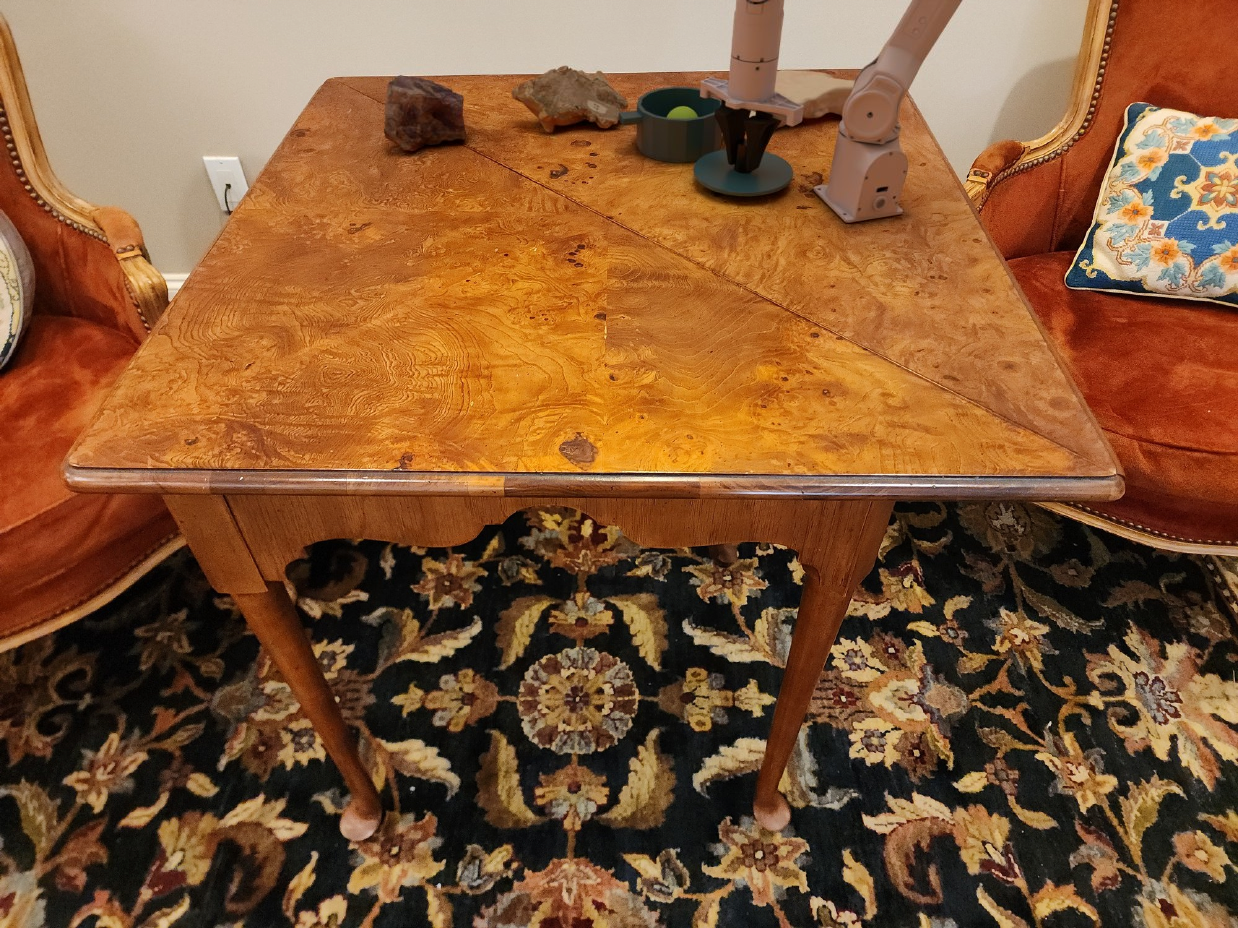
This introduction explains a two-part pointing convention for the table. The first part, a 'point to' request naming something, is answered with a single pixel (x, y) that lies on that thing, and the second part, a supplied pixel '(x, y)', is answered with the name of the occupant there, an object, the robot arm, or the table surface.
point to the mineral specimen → (570, 98)
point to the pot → (675, 125)
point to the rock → (422, 113)
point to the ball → (682, 113)
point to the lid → (742, 173)
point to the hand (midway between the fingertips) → (743, 165)
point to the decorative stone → (813, 92)
